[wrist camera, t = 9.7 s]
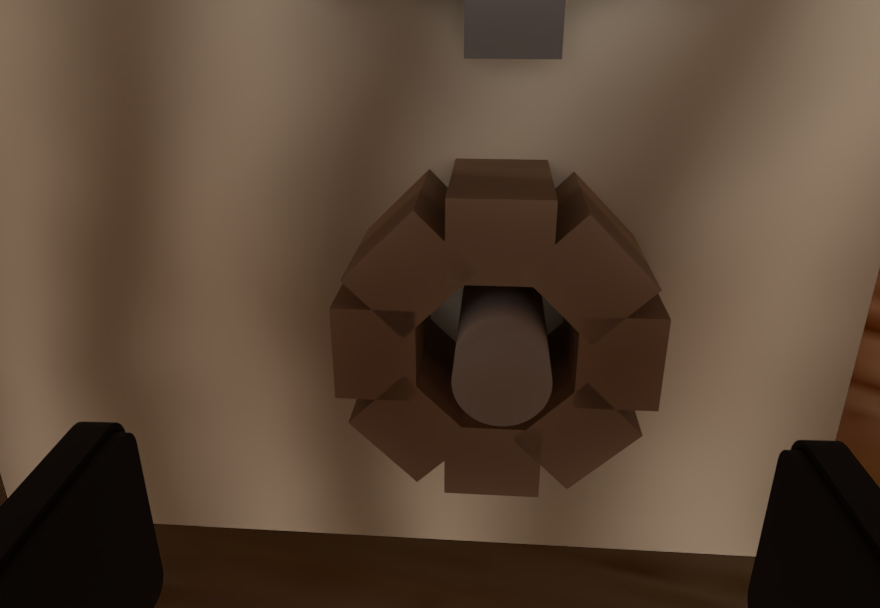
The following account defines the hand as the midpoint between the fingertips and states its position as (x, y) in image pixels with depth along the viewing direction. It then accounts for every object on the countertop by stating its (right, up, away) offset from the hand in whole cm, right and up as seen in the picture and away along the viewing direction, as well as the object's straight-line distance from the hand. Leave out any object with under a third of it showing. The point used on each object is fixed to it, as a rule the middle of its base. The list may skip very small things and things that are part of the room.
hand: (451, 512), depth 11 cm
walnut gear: (+1, +3, +8) cm, 9 cm away
